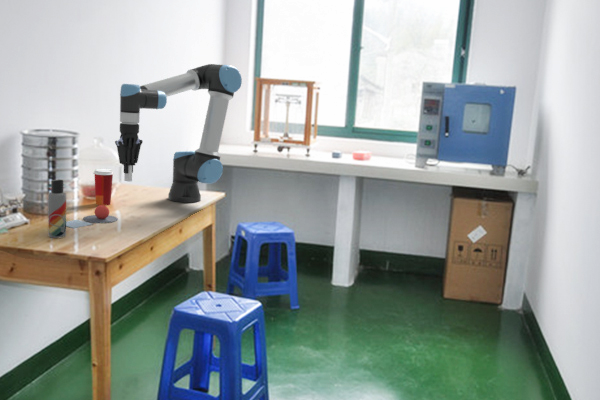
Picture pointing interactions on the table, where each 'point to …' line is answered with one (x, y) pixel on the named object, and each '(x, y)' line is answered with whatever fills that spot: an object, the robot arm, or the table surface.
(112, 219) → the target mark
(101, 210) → the ball
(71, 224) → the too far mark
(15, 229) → the table surface
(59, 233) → the lotion bottle
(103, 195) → the coffee cup
